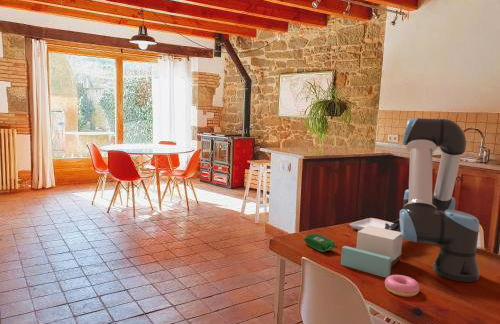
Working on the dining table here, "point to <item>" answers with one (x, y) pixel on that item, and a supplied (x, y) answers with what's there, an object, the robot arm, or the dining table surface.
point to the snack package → (319, 242)
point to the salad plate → (369, 223)
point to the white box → (380, 241)
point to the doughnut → (402, 285)
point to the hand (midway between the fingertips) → (386, 237)
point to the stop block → (366, 261)
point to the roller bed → (395, 261)
